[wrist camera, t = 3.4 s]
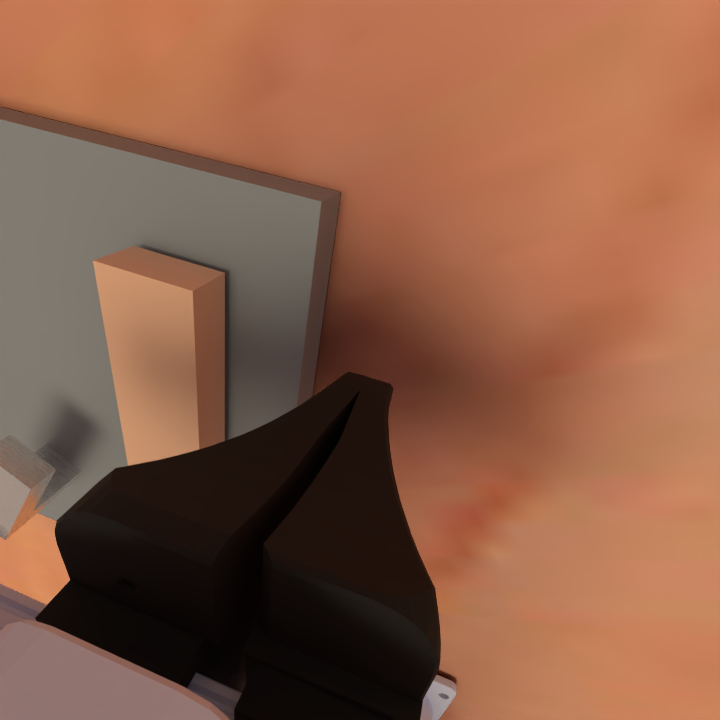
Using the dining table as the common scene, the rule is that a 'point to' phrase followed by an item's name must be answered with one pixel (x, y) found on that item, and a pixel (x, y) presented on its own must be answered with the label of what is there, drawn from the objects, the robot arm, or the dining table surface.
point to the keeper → (29, 482)
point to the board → (161, 235)
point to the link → (164, 351)
